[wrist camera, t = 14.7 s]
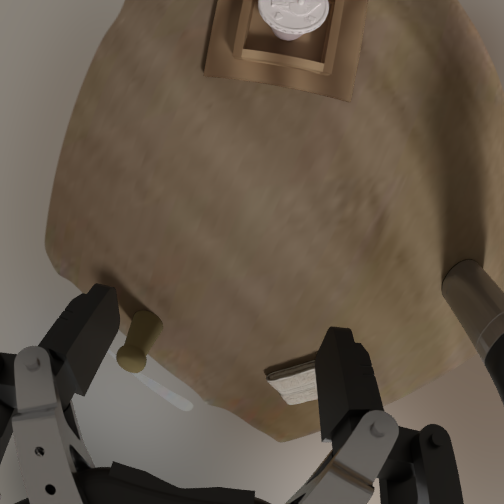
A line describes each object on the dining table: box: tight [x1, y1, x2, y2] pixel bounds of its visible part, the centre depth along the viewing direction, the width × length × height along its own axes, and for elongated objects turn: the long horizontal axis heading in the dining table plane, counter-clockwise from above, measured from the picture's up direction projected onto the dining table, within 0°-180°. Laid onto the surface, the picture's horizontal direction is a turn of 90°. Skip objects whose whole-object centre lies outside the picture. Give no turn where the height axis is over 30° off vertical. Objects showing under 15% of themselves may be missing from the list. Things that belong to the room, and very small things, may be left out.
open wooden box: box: [204, 0, 368, 102], centre depth 26 cm, size 18×16×4 cm
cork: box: [116, 310, 163, 373], centre depth 47 cm, size 6×6×11 cm
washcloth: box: [266, 360, 318, 405], centre depth 56 cm, size 12×18×3 cm, turn 118°
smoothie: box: [258, 0, 329, 41], centre depth 21 cm, size 6×6×14 cm
